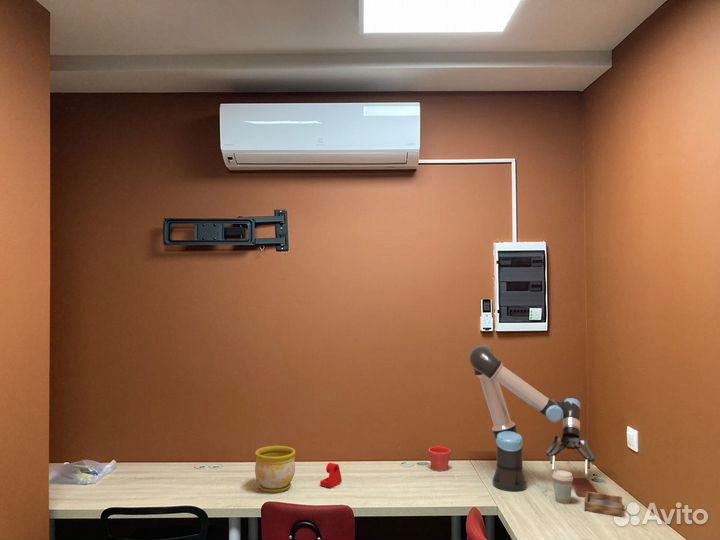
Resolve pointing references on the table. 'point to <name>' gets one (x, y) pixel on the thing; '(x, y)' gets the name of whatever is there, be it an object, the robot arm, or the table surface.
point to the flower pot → (439, 458)
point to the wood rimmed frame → (603, 504)
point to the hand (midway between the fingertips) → (569, 472)
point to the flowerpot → (274, 468)
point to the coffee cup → (562, 486)
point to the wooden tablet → (582, 486)
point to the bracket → (332, 476)
